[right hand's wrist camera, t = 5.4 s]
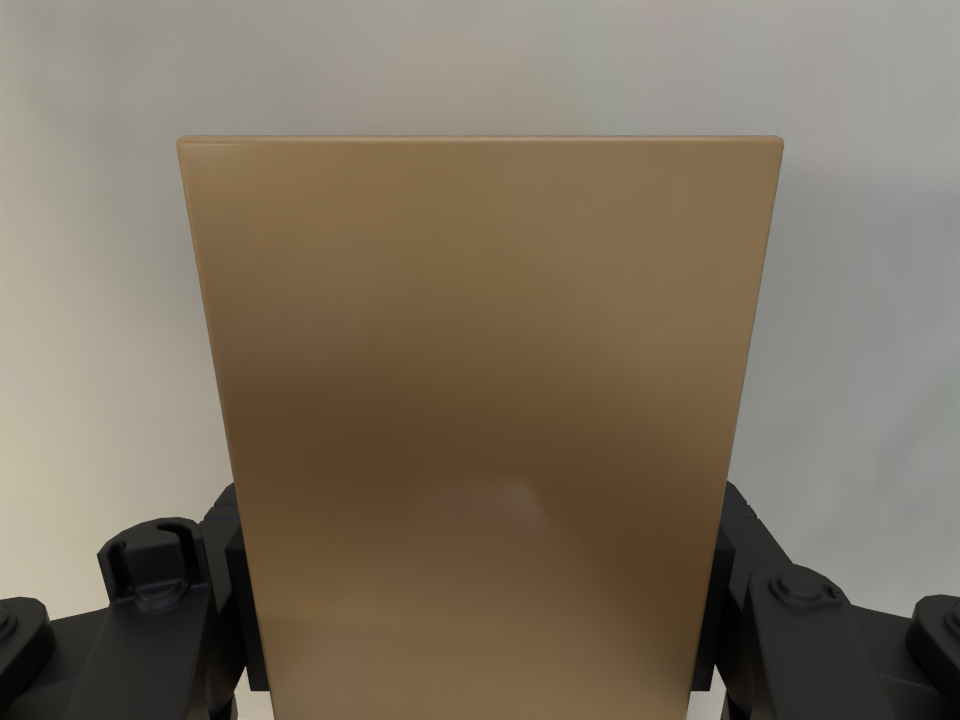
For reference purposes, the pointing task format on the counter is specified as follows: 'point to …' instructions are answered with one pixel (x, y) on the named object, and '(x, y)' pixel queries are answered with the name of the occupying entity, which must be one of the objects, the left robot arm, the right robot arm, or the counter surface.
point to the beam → (480, 409)
